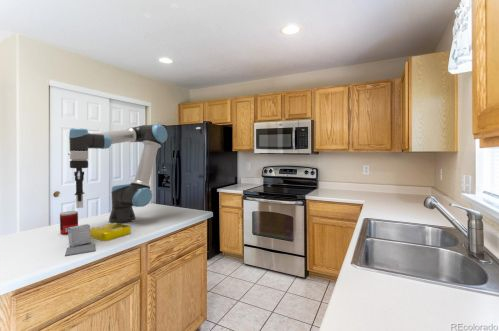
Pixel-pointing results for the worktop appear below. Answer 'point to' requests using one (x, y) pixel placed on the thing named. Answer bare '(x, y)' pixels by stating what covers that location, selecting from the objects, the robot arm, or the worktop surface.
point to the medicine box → (79, 235)
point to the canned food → (68, 221)
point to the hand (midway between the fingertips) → (79, 207)
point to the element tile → (110, 231)
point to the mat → (80, 249)
